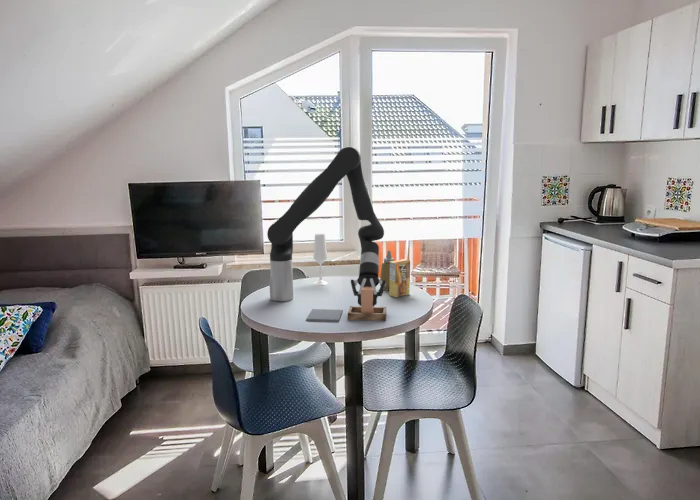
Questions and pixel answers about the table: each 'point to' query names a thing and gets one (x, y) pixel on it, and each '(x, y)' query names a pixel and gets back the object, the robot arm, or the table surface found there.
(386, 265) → the squeeze bottle
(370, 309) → the terracotta block
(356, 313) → the walnut cradle
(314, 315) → the slate mat
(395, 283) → the candy box
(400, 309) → the table surface
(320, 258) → the champagne flute
